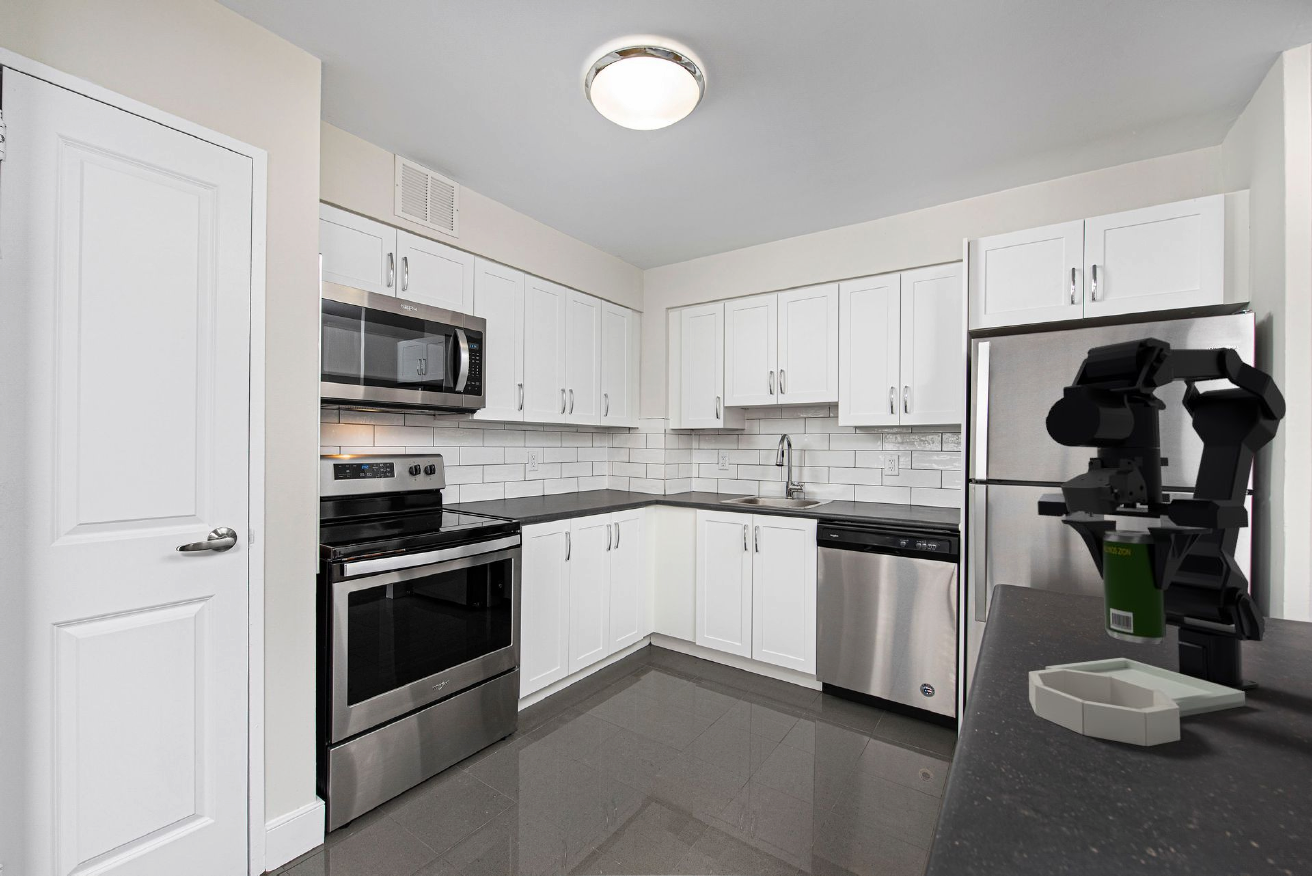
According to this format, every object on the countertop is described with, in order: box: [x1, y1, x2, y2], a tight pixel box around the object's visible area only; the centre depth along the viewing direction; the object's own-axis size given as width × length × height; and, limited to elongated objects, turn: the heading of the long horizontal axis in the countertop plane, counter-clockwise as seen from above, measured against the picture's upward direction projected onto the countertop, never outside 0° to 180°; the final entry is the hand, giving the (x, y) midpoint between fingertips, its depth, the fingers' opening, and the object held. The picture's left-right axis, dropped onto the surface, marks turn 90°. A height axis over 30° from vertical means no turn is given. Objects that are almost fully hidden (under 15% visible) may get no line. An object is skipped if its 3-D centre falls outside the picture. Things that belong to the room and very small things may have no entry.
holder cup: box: [1028, 668, 1181, 747], centre depth 60 cm, size 12×12×3 cm
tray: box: [1045, 657, 1246, 718], centre depth 68 cm, size 14×12×2 cm
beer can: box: [1102, 529, 1167, 645], centre depth 66 cm, size 5×5×12 cm
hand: (1133, 584), depth 66 cm, fingers closed on beer can, 5 cm apart
